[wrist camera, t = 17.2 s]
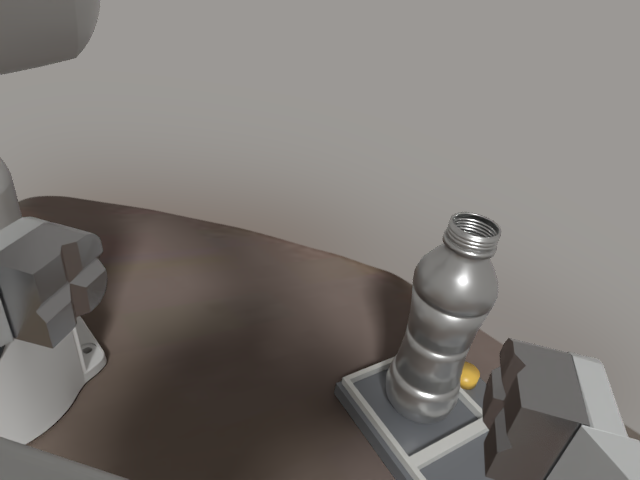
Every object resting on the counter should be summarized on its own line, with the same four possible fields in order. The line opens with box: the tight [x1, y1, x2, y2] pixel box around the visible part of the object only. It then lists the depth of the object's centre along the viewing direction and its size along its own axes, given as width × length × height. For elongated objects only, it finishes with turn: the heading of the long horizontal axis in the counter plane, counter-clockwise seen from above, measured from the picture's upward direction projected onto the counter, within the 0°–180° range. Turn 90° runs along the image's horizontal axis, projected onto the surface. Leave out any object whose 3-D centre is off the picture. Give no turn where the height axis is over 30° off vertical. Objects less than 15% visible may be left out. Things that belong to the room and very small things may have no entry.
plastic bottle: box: [386, 212, 501, 424], centre depth 40 cm, size 6×7×20 cm
